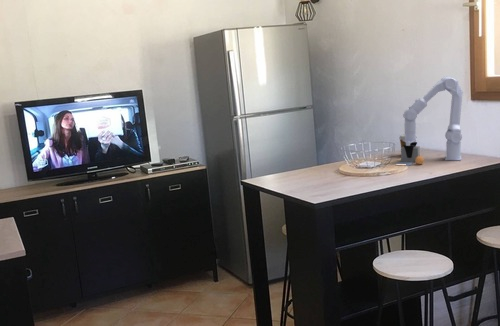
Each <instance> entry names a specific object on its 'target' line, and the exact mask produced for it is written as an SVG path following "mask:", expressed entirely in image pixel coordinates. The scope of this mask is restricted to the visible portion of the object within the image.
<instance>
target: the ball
mask: <svg viewBox="0 0 500 326" xmlns="http://www.w3.org/2000/svg"><path fill="white" fill-rule="evenodd" d="M415 162H416V163H415V164H417V165H423V163H424V162H425V160H424V157H423V156H421V155H420V156H418V157H416V159H415Z"/></svg>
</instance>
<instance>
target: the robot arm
mask: <svg viewBox="0 0 500 326" xmlns="http://www.w3.org/2000/svg"><path fill="white" fill-rule="evenodd" d="M444 91H447V92H449V93H450V94H451V101H450V102H451V103H450V113H449V123H448V126H447V131H446V132H445V135H444V136H445V139H446V144H445V145H446V146H445V148H446V149H445V151H446V152H445V153H446V154H445V155H446V156H445V158H444V161H462V158H463V155H461V154H462V153H461V152H462V151H461V149H462V147H461V146H462V142H461V141H462V140H463V135H462V129H461V125H460V123H461V112H462V106H463V104H462V103H463V94H464V92H463V89H462V87H461V86H460V84H459V81H458V80H457V79H455V78H454V77H452V76H451V77H449V76H444V77H442V78H441V79H440V80H438V81H437V82H436V83H435V84H434V85H433V86H432V87H431V88H430V90H428V92H427V93H426V94H425V95H424V96H423V97H421V98H418V99H417V98H416V99H415V100H414V102H413V103H412V104H411V106H408V109H406V110H404V112H403V114H402V116H403V118H404V134H405V140H403V141H405V142H406V145H403V147H404V148H405V151H406V155H407V158H411V157H412V151H413V148H414V146H417V144H418V142H417V138H416V137H417V135H416V134H417V131H416V129H417V128H416V127H417V126H416V120H417V118H418V115H419V114H420V113H422V112H423V110H424V109H425V108H426V107H427V106H428V102H429V101H430V100H432V98H433V97H435V96H436V95H437V94H438V93H440V92H444Z"/></svg>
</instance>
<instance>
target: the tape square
mask: <svg viewBox="0 0 500 326" xmlns="http://www.w3.org/2000/svg"><path fill="white" fill-rule="evenodd" d="M395 164H406V165H407V166H406V167H408V166H409V167H411V166H412V165H413V164H414V163H413V162H401V161H397V162H396V163H395Z"/></svg>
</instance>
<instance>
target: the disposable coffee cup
mask: <svg viewBox="0 0 500 326" xmlns="http://www.w3.org/2000/svg"><path fill="white" fill-rule="evenodd" d="M398 138H399V141H400V149H401V148H402V147H403V145H406V142H405V141H403V140H405V133H404V134H400V135H399V137H398ZM416 139H417V136H416Z"/></svg>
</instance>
